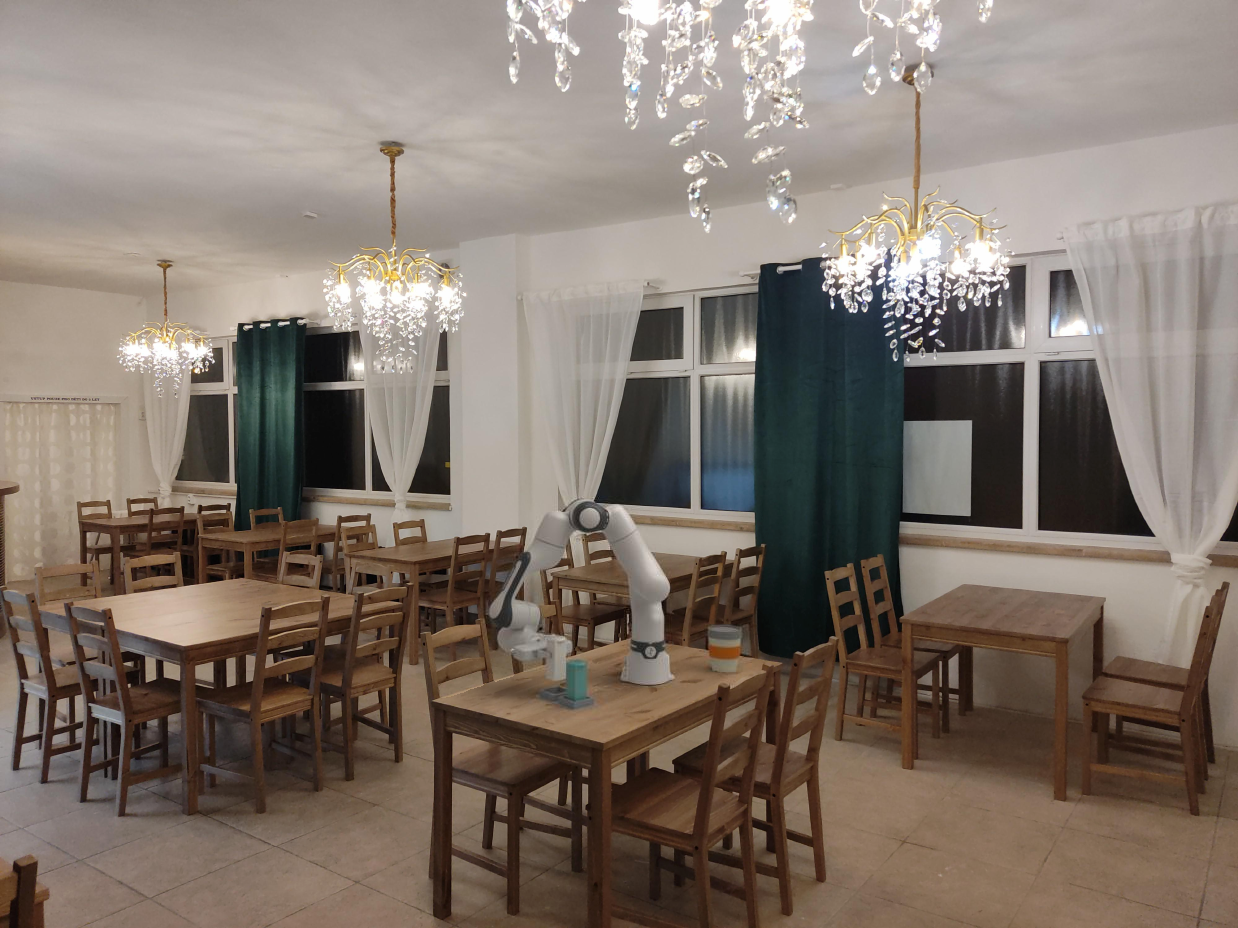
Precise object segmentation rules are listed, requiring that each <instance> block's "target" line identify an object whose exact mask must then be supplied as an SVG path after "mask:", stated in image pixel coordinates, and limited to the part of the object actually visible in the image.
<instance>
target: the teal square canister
mask: <svg viewBox="0 0 1238 928" xmlns="http://www.w3.org/2000/svg"><path fill="white" fill-rule="evenodd" d="M587 666H588V662H587V661H585V660H583V659H578V658H577V659H570V660H568V661H567V660H566V679H565V688H566V699H568V700H571V701H574V702H576V701H580V700H584V699H587V696H588V695H587V694H588V693H587V692H588V691H587V688H588V687H587V684H588V683H587V680H588V675H587V674H588V669H587V668H588V667H587Z"/></svg>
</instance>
